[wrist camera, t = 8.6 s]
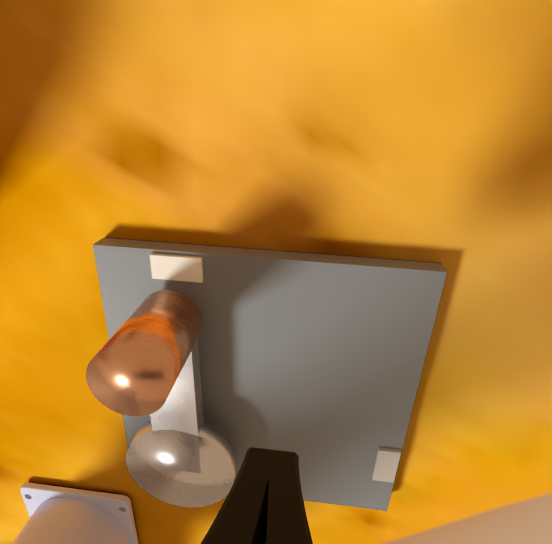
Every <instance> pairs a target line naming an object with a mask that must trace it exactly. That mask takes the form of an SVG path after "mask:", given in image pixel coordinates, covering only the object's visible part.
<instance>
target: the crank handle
mask: <svg viewBox="0 0 552 544" xmlns="http://www.w3.org/2000/svg"><path fill="white" fill-rule="evenodd" d="M202 328H203V317H202V314H201V312H200V310H199V308H198V306H197V305H196V304H195V303H194V302H193V301H192V300H191V299H190V298H189V297H187V296H185V295H184V294H182V293H179V292H176V291H171V290H161V291H157V292H154V293H152V294H150V295H149V296H148V297H147V298H146V299H145V300H144V301H143V302H142V303H141V304H140V305H139V307H138V308H137V309H136V310H135V311H134V312H133V313H132V315H131V316H130V317H129V318H128V319H127V320H126V321H125V322H124V324H123V325H122V326H121V327H120V328H119V329H118V330H117V332H116V333H115V334H114V335H113V336H112V337H111V338H110V339H109V341H108V342H107V343H106V344H105V345H104V346H103V347H102V349H101V350H100V351H99V352H98V353H97V354H96V355H95V356H94V358H93V359H92V360H91V361H90V363H89V364H88V367H87V371H86V379H87V383H88V386H89V388H90V390H91V392H92V393H93V394H94V396H95V397H96V398H97V399H98V400H99V401H100V402H101V403H102V404H103V405H105V406H106V407H108V408H110V409H111V410H113V411H115V412H118V413H121V414H124V415H128V416H146V415H150V418H151V420H150V421H148V422H146V423H145V424H144V425H143V426H141V428H140V429H139V430H138V432H137V433H136V435H135V437H134V439H133V441H132V442H131V444H130V446H129V448H128V450H127V453H126V466H127V469H128V472H129V474H130V476H131V477H132V479H133V480H134V481H135V483H136V484H137V485H138V486H139V487H140V488H141V489H143V490H144V491H145V492H146V493H148V494H149V495H151V496H153V497H154V498H156V499H158V500H161V501H163V502H166V503H168V504H172V505H176V506H181V507H204V506H209V505H212V504H215V503H217V502H219V501H221V500H222V499H224V498H225V497H226V496H227V495H228V493H229V492H230V490H231V487H232V485H233V483H234V479H235V474H236V470H237V464H238V459H237V454H236V451H235V449H234V446H233V445H232V443H231V442H230V440H229V439H228V438H227V437H226V436H225V435H224V434H223V433H222V432H221V431H219V430H218V429H217V428H215V427H214V426H212V425H210V424H208V423H206V422H204V419H203V404H202V390H201V375H200V361H199V346H198V337H199V335H200V333H201V331H202Z"/></svg>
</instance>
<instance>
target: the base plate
mask: <svg viewBox="0 0 552 544" xmlns="http://www.w3.org/2000/svg"><path fill="white" fill-rule="evenodd" d="M93 249H94V255H95V261H96V266H97V272H98V278H99V283H100V289H101V295H102V301H103V306H104V312H105V318H106V324H107V329H108V335H109V339H110V338H111V337H112V336H113V335H114V334H115V333H116V332H117V330H118V329H119V328H120V327H121V326H122V325H123V324H124V322H125V321H126V320H127V319H128V318H129V317H130V316H131V315H132V313H133V312H134V311H135V310H136V309H137V308H138V307H139V305H140V304H141V303H142V302H143V301H144V300H145V299H146V298H147V297H148V296H149V295H150V294H152V293H154V292H157V291H161V290H171V291H176V292H179V293H182V294H184V295H185V296H187V297H189V298H190V299H191V300H192V301H193V302H194V303H195V304H196V305H197V306H198V308H199V310H200V312H201V314H202V317H203V328H202V331H201V333H200V335H199V337H198V346H199V361H200V375H201V390H202V404H203V419H204V422H206V423H208V424H210V425H212V426H214V427H215V428H217V429H218V430H219V431H221V432H222V433H223V434H224V435H225V436H226V437H227V438H228V439H229V440H230V442H231V443H232V445H233V446H234V449H235V451H236V454H237V459H238V464H237V470H236V474H235V479H236V477H237V475H238V472H239V470H240V468H241V465H242V463H243V460H244V457H245V454H246V452H247V449H249V448H251V447H254V448H263V449H271V450H280V451H289V452H295V453H296V454H297V455H298V456H299V474H300V483H301V490H302V496H303V500H305V501H313V502H321V503H329V504H337V505H345V506H352V507H360V508H368V509H376V510H384V511H387V509H388V505H389V501H390V497H391V493H392V489H393V485H394V481H395V477H396V473H397V469H398V465H399V461H400V457H401V453H402V449H403V445H404V441H405V437H406V433H407V429H408V426H409V422H410V418H411V414H412V410H413V406H414V402H415V398H416V394H417V390H418V386H419V382H420V378H421V374H422V370H423V366H424V362H425V358H426V354H427V350H428V346H429V342H430V338H431V334H432V330H433V326H434V322H435V318H436V314H437V310H438V306H439V302H440V298H441V294H442V290H443V286H444V282H445V278H446V275H447V271H446V270H445V269H444V267H443V266H442V265H441V263H433V262H420V261H407V260H393V259H380V258H367V257H353V256H340V255H327V254H314V253H300V252H287V251H274V250H261V249H247V248H234V247H221V246H207V245H194V244H181V243H168V242H154V241H141V240H128V239H115V238H103V239H101V240H99V241H98V242H96V243H95V244H93ZM122 415H123V421H124V426H125V432H126V438H127V444H128V448H129V446H130V444H131V442H132V441H133V439H134V437H135V435H136V433H137V432H138V430H139V429H140V428H141V426H143V425H144V424H145V423H146V422H148V421H150V420H151V418H150V415H146V416H128V415H124V414H122ZM235 479H234V481H235Z"/></svg>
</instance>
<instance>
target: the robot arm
mask: <svg viewBox="0 0 552 544" xmlns="http://www.w3.org/2000/svg"><path fill="white" fill-rule="evenodd" d="M20 491H21V494H22V497H23V500H24V502H25V505H26V508H27V510H28V513H29V516H30V519H29V520H28V522H27V523H26V525H25V526H24V528H23V529H22V530H21V532H20V533H19V535H18V536H17V538H16V539H15V541H14V542H13V543H12V544H139V543H138V538H137V533H136V527H135V522H134V517H133V511H132V506H131V501H130V499H129V498H128V497H127V496H125V495H119V494H111V493H103V492H96V491H88V490H81V489H73V488H66V487H58V486H50V485H43V484H35V483H24V484H23V486H22V487H21V488H20ZM265 543H266V544H313V543H312V539H311V534H310V530H309V526H308V521H307V517H306V512H305V507H304V502H303V496H302V490H301V483H300V474H299V456H298V455H297V454H296V453H295V452H289V451H280V450H271V449H263V448H254V447H251V448H249V449H247V452H246V454H245V457H244V460H243V463H242V465H241V468H240V470H239V472H238V475H237V477H236V479H235V481H234V483H233V485H232V487H231V490H230V492H229V494H228V496H227V498H226V500H225V501H224V503H223V505H222V507H221V509H220V511H219V513H218V514H217V516H216V518H215V520H214V522H213V524H212V526H211V527H210V529H209V531H208V532H207V534H206V536H205V537H204V539H203V541H202V542H201V544H265Z"/></svg>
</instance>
